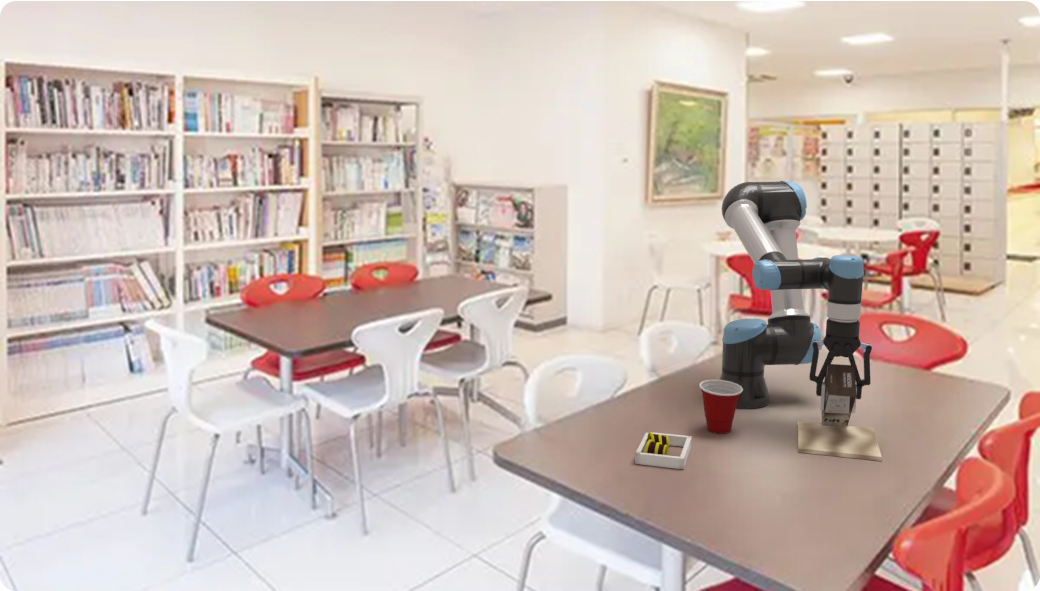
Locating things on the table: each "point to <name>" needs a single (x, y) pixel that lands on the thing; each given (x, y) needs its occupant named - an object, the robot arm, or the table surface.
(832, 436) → the birch board
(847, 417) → the coffee box
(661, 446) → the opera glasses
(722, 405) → the plastic cup
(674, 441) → the white tray rim
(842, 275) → the robot arm
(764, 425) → the table surface
